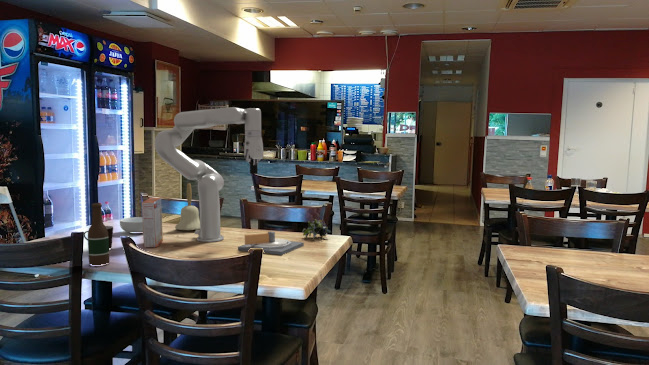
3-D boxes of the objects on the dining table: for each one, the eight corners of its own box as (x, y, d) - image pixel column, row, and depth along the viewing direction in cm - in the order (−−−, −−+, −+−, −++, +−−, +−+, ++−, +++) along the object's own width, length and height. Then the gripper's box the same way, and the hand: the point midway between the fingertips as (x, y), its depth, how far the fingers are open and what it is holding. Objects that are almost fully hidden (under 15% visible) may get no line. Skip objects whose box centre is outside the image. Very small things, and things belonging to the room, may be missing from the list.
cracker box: (150, 241, 236) (148, 197, 234) (163, 241, 237) (162, 197, 235) (142, 248, 222) (140, 201, 220) (156, 247, 223) (155, 201, 221)
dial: (250, 249, 211) (249, 237, 210) (240, 243, 224) (240, 231, 223) (291, 245, 219) (291, 233, 219) (280, 239, 232) (280, 228, 231)
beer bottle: (92, 262, 198) (90, 202, 195) (112, 261, 198) (110, 202, 196) (85, 267, 190) (82, 205, 188) (106, 266, 191) (103, 204, 188)
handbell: (168, 231, 261) (167, 183, 259) (189, 226, 275) (188, 181, 272) (191, 233, 254) (189, 185, 252) (211, 228, 268) (209, 182, 265)
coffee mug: (118, 248, 221) (117, 226, 220) (104, 253, 213) (103, 230, 212) (97, 246, 225) (96, 225, 224) (82, 251, 217) (81, 228, 216)
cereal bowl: (147, 236, 249) (147, 222, 248) (114, 236, 249) (114, 222, 249) (159, 229, 266) (158, 216, 265) (128, 229, 266) (127, 216, 265)
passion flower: (320, 247, 247) (335, 229, 245) (312, 248, 237) (327, 228, 235) (304, 233, 251) (318, 214, 249) (295, 233, 241) (310, 213, 239)
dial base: (238, 250, 218) (237, 244, 218) (262, 241, 236) (262, 236, 236) (281, 255, 209) (281, 249, 209) (303, 245, 227) (303, 240, 227)
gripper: (251, 134, 226) (251, 175, 228) (268, 134, 240) (268, 172, 241) (237, 134, 229) (238, 174, 231) (255, 134, 243) (255, 172, 244)
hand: (253, 173), depth 236 cm, fingers closed
